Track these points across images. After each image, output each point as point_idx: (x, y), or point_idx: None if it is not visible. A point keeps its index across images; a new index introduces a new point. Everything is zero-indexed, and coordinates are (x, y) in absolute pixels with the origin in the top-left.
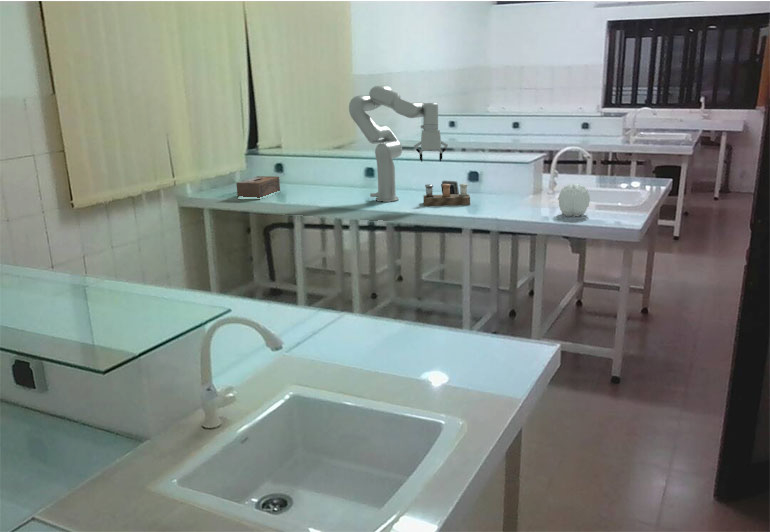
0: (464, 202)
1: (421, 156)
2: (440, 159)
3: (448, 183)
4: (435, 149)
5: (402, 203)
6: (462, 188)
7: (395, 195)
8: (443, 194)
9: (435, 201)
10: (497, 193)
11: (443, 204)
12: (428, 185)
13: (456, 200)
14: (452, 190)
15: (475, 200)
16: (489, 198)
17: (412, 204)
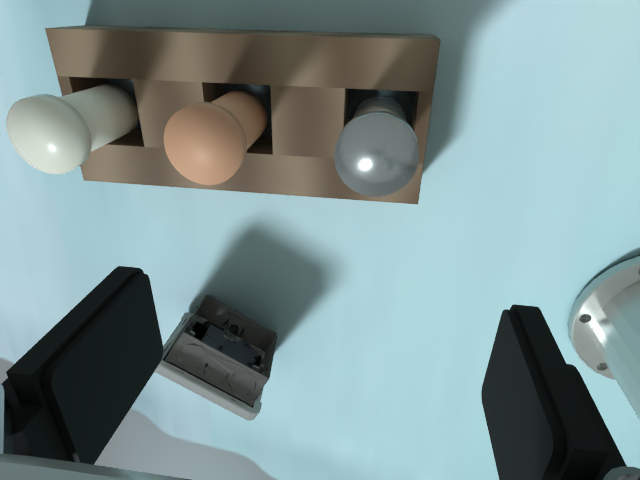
0: (112, 27)
1: (564, 387)
2: (113, 281)
3: (215, 372)
4: (45, 469)
5: (578, 180)
6: (72, 101)
7: (604, 327)
8: (257, 113)
9: (335, 34)
10: (4, 350)
11: (275, 31)
12: (386, 123)
13: (163, 29)
14: (206, 332)
15: (77, 189)
16: (10, 233)
17: (511, 125)
